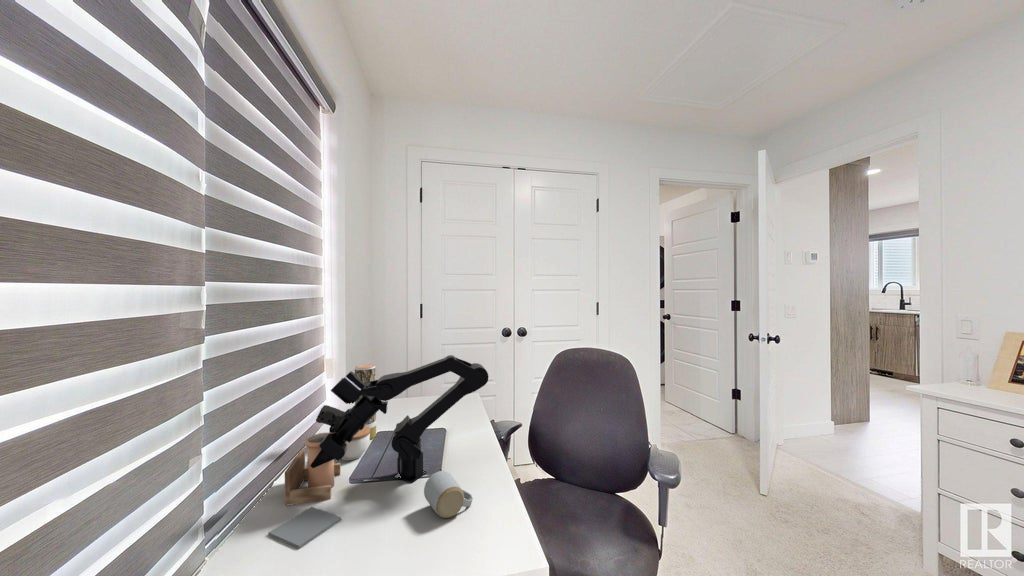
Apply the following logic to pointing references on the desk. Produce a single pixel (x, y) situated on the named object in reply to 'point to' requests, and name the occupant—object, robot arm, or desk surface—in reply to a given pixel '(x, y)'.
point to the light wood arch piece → (296, 477)
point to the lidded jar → (357, 444)
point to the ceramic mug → (445, 494)
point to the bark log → (365, 375)
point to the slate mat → (304, 527)
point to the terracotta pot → (323, 472)
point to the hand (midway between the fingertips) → (315, 461)
